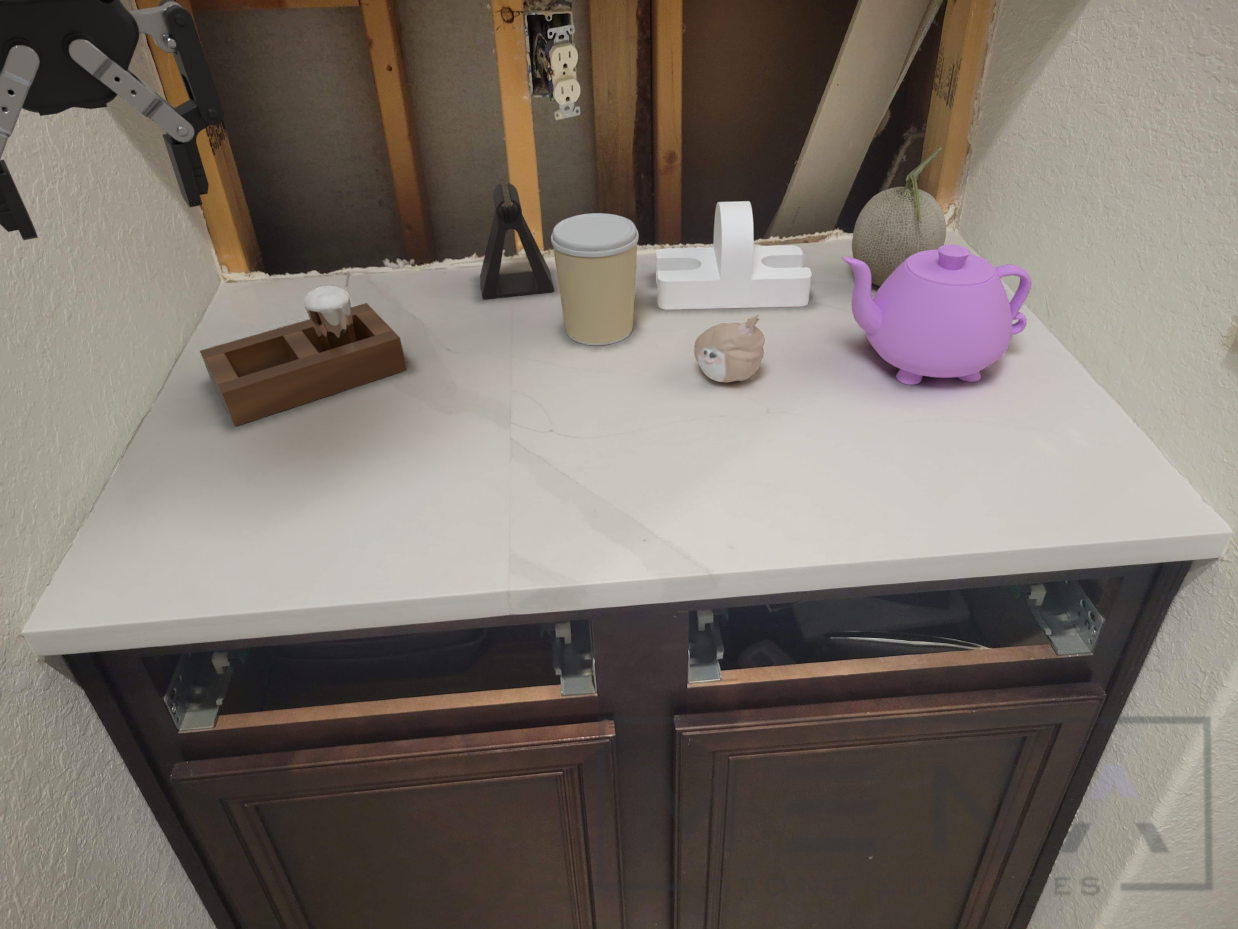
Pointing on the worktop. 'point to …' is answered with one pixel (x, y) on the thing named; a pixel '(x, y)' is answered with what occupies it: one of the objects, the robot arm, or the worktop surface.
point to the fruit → (898, 227)
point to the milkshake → (331, 315)
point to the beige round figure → (730, 350)
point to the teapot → (940, 313)
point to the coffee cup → (596, 276)
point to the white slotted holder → (732, 269)
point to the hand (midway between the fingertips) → (113, 217)
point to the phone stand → (490, 271)
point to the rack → (299, 365)
